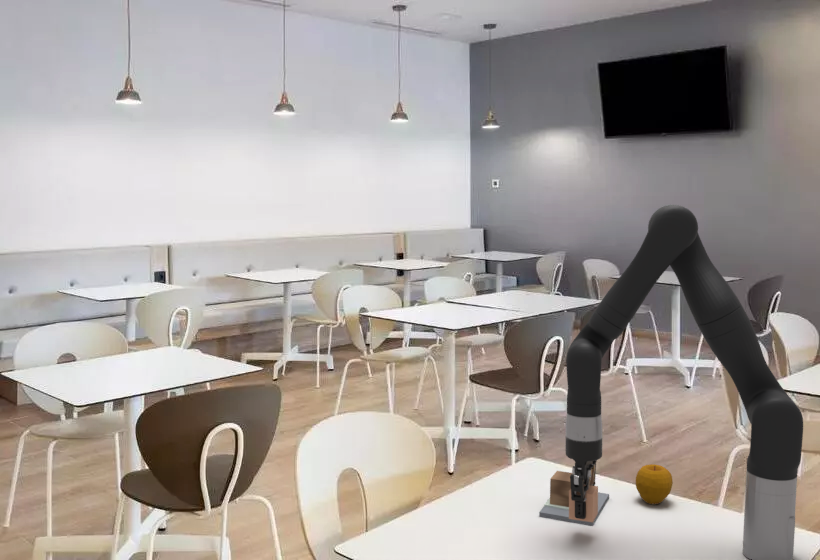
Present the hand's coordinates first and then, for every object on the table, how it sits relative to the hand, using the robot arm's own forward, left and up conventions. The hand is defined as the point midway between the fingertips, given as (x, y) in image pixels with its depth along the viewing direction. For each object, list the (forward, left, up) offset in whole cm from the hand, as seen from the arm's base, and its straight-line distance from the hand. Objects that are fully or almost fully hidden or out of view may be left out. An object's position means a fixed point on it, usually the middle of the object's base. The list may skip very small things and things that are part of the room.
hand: (583, 512), depth 171 cm
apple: (-11, -27, -6) cm, 29 cm away
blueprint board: (+5, -16, -5) cm, 18 cm away
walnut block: (+7, -15, -4) cm, 17 cm away
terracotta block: (0, 0, -1) cm, 1 cm away
